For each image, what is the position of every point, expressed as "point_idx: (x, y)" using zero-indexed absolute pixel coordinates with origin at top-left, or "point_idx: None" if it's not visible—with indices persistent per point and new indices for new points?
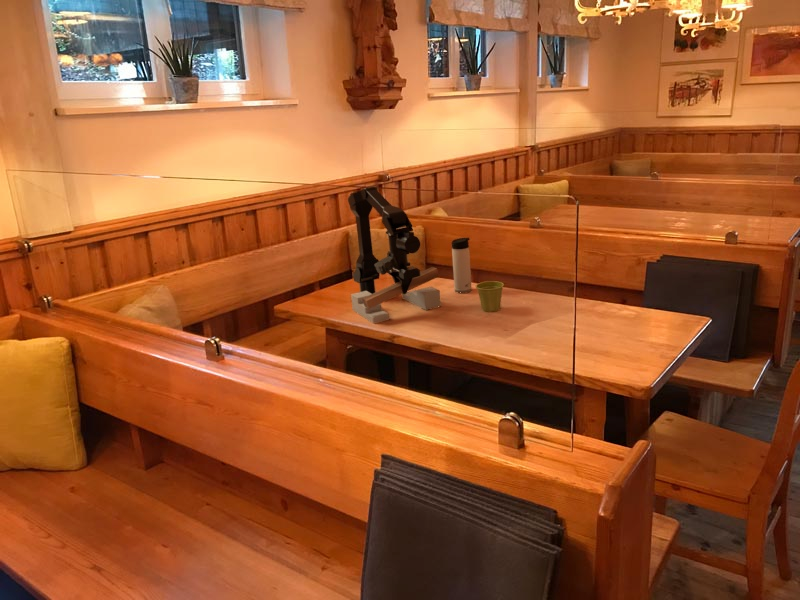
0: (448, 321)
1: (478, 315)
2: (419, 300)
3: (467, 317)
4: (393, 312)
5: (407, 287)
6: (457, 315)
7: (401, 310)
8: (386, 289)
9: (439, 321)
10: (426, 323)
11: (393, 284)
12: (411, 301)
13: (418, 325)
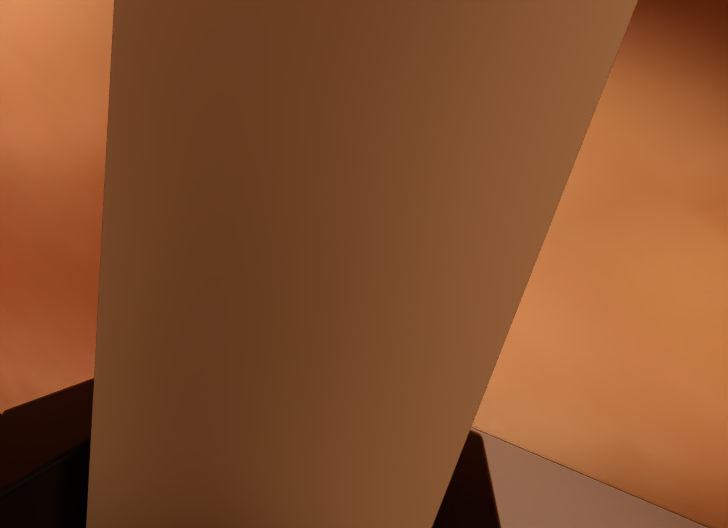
0: (19, 242)
1: (34, 397)
2: None
3: (32, 351)
4: (602, 160)
5: None
6: (89, 358)
7: (555, 270)
8: (335, 34)
9: (45, 209)
10: (51, 112)
11: (400, 519)
12: (637, 512)
13: (38, 22)
